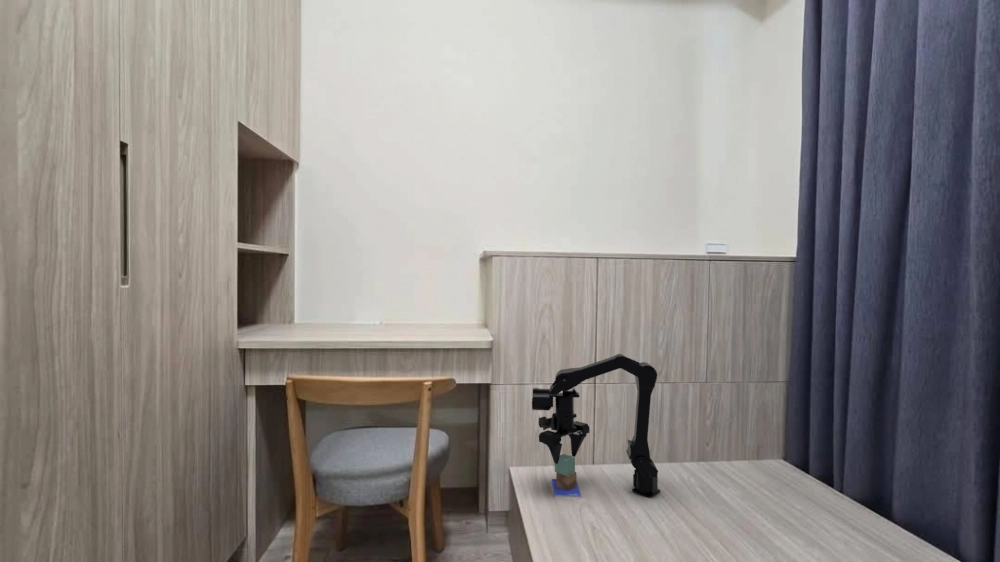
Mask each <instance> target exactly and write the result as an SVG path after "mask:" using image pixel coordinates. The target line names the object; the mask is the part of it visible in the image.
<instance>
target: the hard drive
mask: <svg viewBox="0 0 1000 562" xmlns="http://www.w3.org/2000/svg"><path fill="white" fill-rule="evenodd" d="M551 481H552V482H551V487H552V491H553V492H554V493H553V496H554V497H553V498H554V499H582V498H583V497H582V495H581V494H582V493H581V491H580V488H579V485H578V484H579V483H577V486H576V487H575V488H573V489H571V490H569V491H567V490H564V489H561V488H558V487H556V478H553V479H551Z"/></svg>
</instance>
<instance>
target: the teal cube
mask: <svg viewBox="0 0 1000 562" xmlns="http://www.w3.org/2000/svg"><path fill="white" fill-rule="evenodd" d="M554 472H555V473H560V474H563V475H565V476H567V475H569V474H571V473H573V472H576V456H575V457H573V456H572V455H569V454H565V453H562V454H560V457H559V461H558V464H555V463H554Z"/></svg>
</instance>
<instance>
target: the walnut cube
mask: <svg viewBox="0 0 1000 562" xmlns="http://www.w3.org/2000/svg"><path fill="white" fill-rule="evenodd" d="M555 473H556V474H555V475H556V476H555V479H556V487H558V488H561V489H564V490H567V491H569V490H571V489H573V488H575V487H576V486H577V484H578V481H577V472H576V471H575V472H573V473H571V474H569V475H567V476H565V475H563V474H560V473H557V472H555Z"/></svg>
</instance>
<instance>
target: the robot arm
mask: <svg viewBox="0 0 1000 562" xmlns="http://www.w3.org/2000/svg"><path fill="white" fill-rule="evenodd" d="M619 369H621V370H624V371H625V372H627V373H629V374H631V375H633V376H634V377H635V385H636V390H637V391H636V392H637V393H636V405H635V417H634V431H633V437H632V439H627V441H626V442H627V449H626V454H627V455H626V456H627V457H628V460H629V461H630V463H631V465H632V467H633V468H634V471H633V474H632V475H633V476H632V479H633V480H632V481H633V482H632V484H633V485H632V486H633V488H632V489H631V492H632V491H633V492H632V493H635V492H636V493H635V494H638V495H641V496H644V497H647V498H652V497H654V496H656V495H657V494H659V493H661V489H659V483H658V482H659V481H658V479H659V478H658V474H659V469H658V468H657V466H656V464H655V463H654V461H653V459H652V458H651V453H650V448H649V441H648V438H649V425H650V411H651V402H652V401H651V400H652V399H651V398H652V394H653V391H654V389H655V386H656V383H657V379H658V373H657V370H656V369H655V367H653V366H652V365H651V364H650V363H648V362H639V361H637V360H636V359H632V358H630V357H627V356H625V355H623V354H622V353H617V354H615V355H613V356H610V357H608V358H604V359H601V360H599V361H596V362H593V363H590V364H587V365H584V366H582V367H570V368H564V369H560V370H558V371H557V373H556V375H555V378H554V379H555V380H554V381H553V382H552V383H551V385H550V386H549V388H539V387H533V389H532V398H531V410H532V411H550V410H551V409H552V408H554V405H555V412H553V413H552V414H551V416H550V417H546V416H542V417H539V418H538V426H539V428H540V429H542V430H543V431H541V432H540V433H539V435H538V442H539V443H543V444H544V445H546V446H547V447H548V449H549V451H550V454H551V457H552V460H553V463H554V465H555V464H558V461H559V457H560V455H561V451H562V448H563V447H562V446H563V443H561V442H562V438H563V437H565V436H569V439H570V449H571V451H570V452H571V456H572V457H575V458H576V456H577V455H578V452H579V450H580V447H581V446H582V444H583V442H584V440H585V438H586V437H587V436H588V434H590V432H591V431H590V426H589V424H588V423H586V422H583V421H578V420H576V421H574V420H575V419H576V418H577V413H575V412H574V411H575V410H574V404H575V403H574V402H575V401H574V398H580V393H579V392H578V391H577V390H576V389H575V387H577V386H579V385H580V384H581V383H583V382H584V381H586V380H590V379H593V378H596V377H598V376H600V375H605V374H607V373H611V372H614V371H616V370H619ZM554 398H555V402H554ZM554 403H555V404H554ZM549 429H550V430H549ZM545 430H546V431H545Z"/></svg>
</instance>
